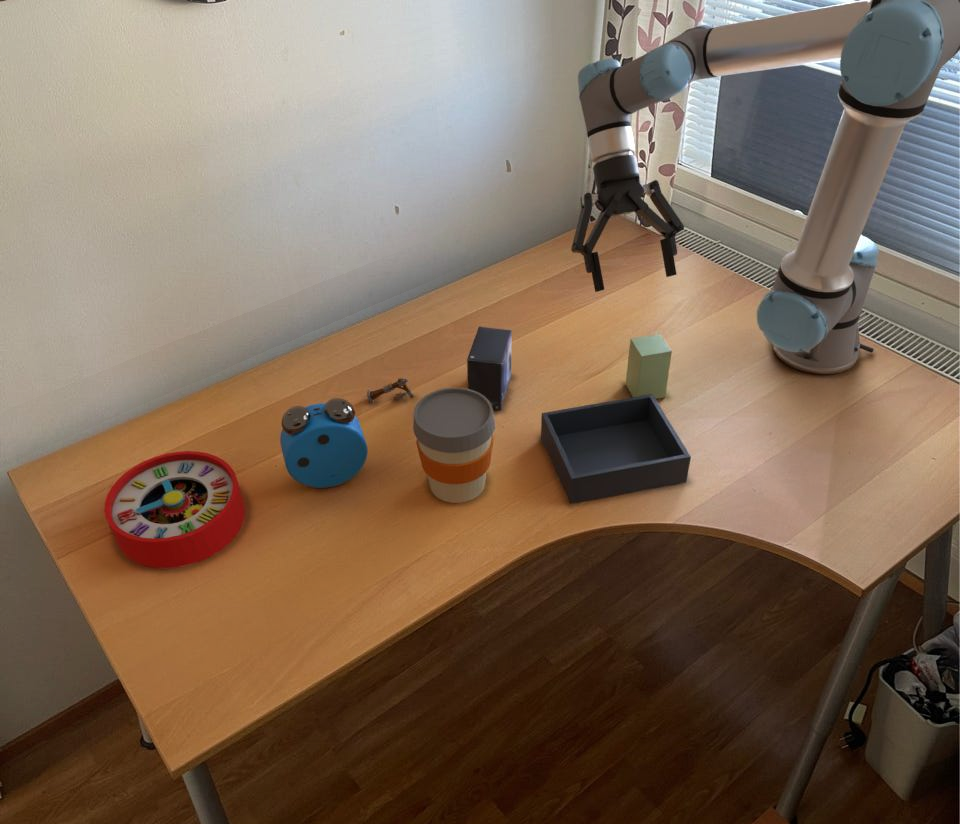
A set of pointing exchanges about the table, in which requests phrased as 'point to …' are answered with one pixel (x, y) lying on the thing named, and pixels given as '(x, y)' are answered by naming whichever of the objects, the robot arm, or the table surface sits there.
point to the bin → (613, 448)
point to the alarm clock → (323, 443)
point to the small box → (490, 364)
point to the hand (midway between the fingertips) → (636, 283)
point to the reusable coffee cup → (455, 441)
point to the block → (648, 366)
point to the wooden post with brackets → (388, 388)
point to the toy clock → (175, 509)
